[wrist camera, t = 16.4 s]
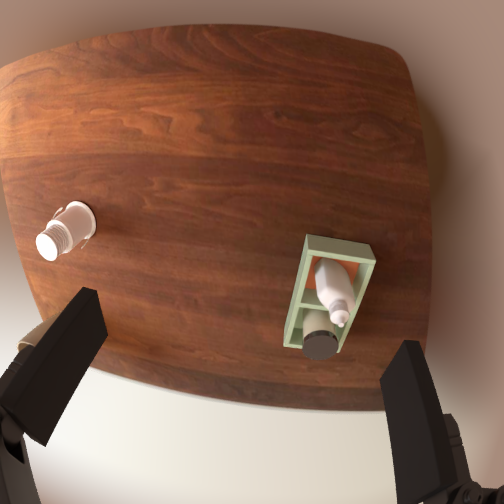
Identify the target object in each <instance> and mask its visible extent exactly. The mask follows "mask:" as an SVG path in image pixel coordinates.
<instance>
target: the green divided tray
mask: <svg viewBox="0 0 504 504" xmlns="http://www.w3.org/2000/svg"><path fill="white" fill-rule="evenodd" d="M324 257H325V258H329V259H332V260H335V261H336V262H338V263H340V264H341V265H342V266H343V267H344V268H345V270H346V271H347V273H348V275H349V278H350V282H351V286H352V290H353V294H354V298H355V303H356V306H355V308H354V309H353V310H352V311H351V312H350V313H349V315H350V316H349V319H348V321H347V322H345V323H344V326H343V327H339V326H338V324H335V327H336V334H337V338H338V344H339V348H338V351H337V353H339V352H340V349H341V347H342V345H343V343H344V341H345V338H346V336H347V334H348V331H349V329H350V327H351V324H352V322H353V320H354V317H355V315H356V313H357V310H358V308H359V305H360V303H361V300H362V298H363V295H364V293H365V290H366V287H367V285H368V282H369V279H370V277H371V274H372V271H373V268H374V266H375V263H376V259H375V257H374V254H373V252H372V250H371V248H370V245H369V244H363V243H358V242H352V241H346V240H340V239H334V238H328V237H323V236H317V235H310V234H306V239H305V243H304V248H303V252H302V257H301V261H300V266H299V270H298V274H297V279H296V283H295V287H294V291H293V295H292V299H291V303H290V308H289V312H288V316H287V320H286V323H285V327H284V346H285V347H293V348H301V349H302V341H303V326H302V312H303V309H304V308H311V309H318V310H326V311H329V310H328V309H327V308H325V307H324V305H323V304H322V303H321V302H320V300H319V298H318V296H317V289H316V280H315V270H314V266H315V264H316V263H317V262H318V261H319V260H320V259H321V258H324Z"/></svg>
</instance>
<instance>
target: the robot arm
mask: <svg viewBox="0 0 504 504" xmlns="http://www.w3.org/2000/svg"><path fill="white" fill-rule="evenodd" d="M107 336H108V333H107V330H106V326H105V322H104V318H103V315H102V311H101V307H100V302H99V298H98V294H97V290H93V289H89V288H85V287H82V288H81V290H80V291H79V292H78V293H77V294H76V296H75V297H74V298H73V299H72V300H71V301H70V303H69V304H68V305H67V306H66V308H65V309H64V310H63V311H62V312H61V314H60V315H59V316H58V317H57V319H56V320H55V321H54V322H53V324H52V325H51V326H50V327H49V329H48V330H47V331H46V333H45V334H44V335H43V337H42V338H41V339H40V340H39V342H38V343H37V344H36V346H33V345H31V344H29V345H27V346H26V347H25V348H23V349H22V350H20V351H19V353H18V354H17V356H16V357H15V358H14V361H13V362H11V364H10V365H9V367H8V369H6V371H5V372H4V374H3V375H2V376H1V378H0V504H41V502H40V499H39V496H38V492H37V489H36V486H35V482H34V479H33V475H32V471H31V467H30V463H29V458H28V454H27V449H26V445H25V440H24V438H23V434H24V432H25V433H26V434H27V435H28V436H29V437H30V438H31V439H33V440H34V441H36V442H38V443H39V444H41V445H43V446H45V447H46V445H47V443H48V441H49V439H50V437H51V435H52V433H53V431H54V429H55V427H56V425H57V423H58V421H59V419H60V417H61V415H62V413H63V412H64V410H65V408H66V406H67V404H68V403H69V401H70V399H71V397H72V395H73V394H74V391H75V390H76V388H77V386H78V385H79V383H80V381H81V379H82V377H83V376H84V374H85V372H86V371H87V369H88V367H89V366H90V364H91V362H92V361H93V359H94V357H95V356H96V354H97V352H98V351H99V349H100V347H101V346H102V344H103V343H104V341H105V339H106V338H107ZM380 384H381V389H382V394H383V400H384V405H385V411H386V417H387V423H388V429H389V435H390V442H391V449H392V457H393V465H394V474H395V483H396V493H397V504H419V503H421V502H423V504H504V485H503V486H501V487H499V488H498V489H491V488H490V489H489V488H481V486H480V485H479V484H478V483H477V482H474V481H472V479H471V477H470V473H469V468H468V464H467V459H466V455H465V451H464V447H463V446H462V444H463V443H462V439H461V437H460V431H459V428H458V424H457V423H456V421H455V419H454V418H453V416H452V415H451V414H443V413H442V409H441V406H440V402H439V399H438V396H437V393H436V389H435V386H434V383H433V380H432V377H431V374H430V371H429V368H428V365H427V363H426V360H425V357H424V354H423V351H422V348H421V346H420V343H419V341H412V340H404V341H403V343H402V345H401V346H400V348H399V350H398V351H397V353H396V355H395V356H394V358H393V360H392V361H391V363H390V364H389V366H388V368H387V369H386V371H385V372H384V374H383V375H382V377H381V378H380Z"/></svg>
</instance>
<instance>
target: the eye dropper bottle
mask: <svg viewBox="0 0 504 504" xmlns="http://www.w3.org/2000/svg"><path fill="white" fill-rule="evenodd" d="M314 270H315V280H316V289H317V296H318V298H319V300H320V302H321V303H322V304H323V305H324V307H325V308H327V309H328V310H329V313H330V320H331V322H333V323H334V324H338V326H339V327H343V326H344V323H345V322H347V321H348V319H349V316H350V315H349V313H350V312H351V311H352V310H353V309H354V308H355V306H356V303H355V298H354V294H353V290H352V286H351V282H350V278H349V275H348V273H347V271H346V270H345V268H344V267H343V266H342V265H341V264H340V263H338V262H336V261H335V260H332V259H329V258H325V257H324V258H321V259H320V260H319V261H318V262H317V263H316V264H315V266H314Z"/></svg>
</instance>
